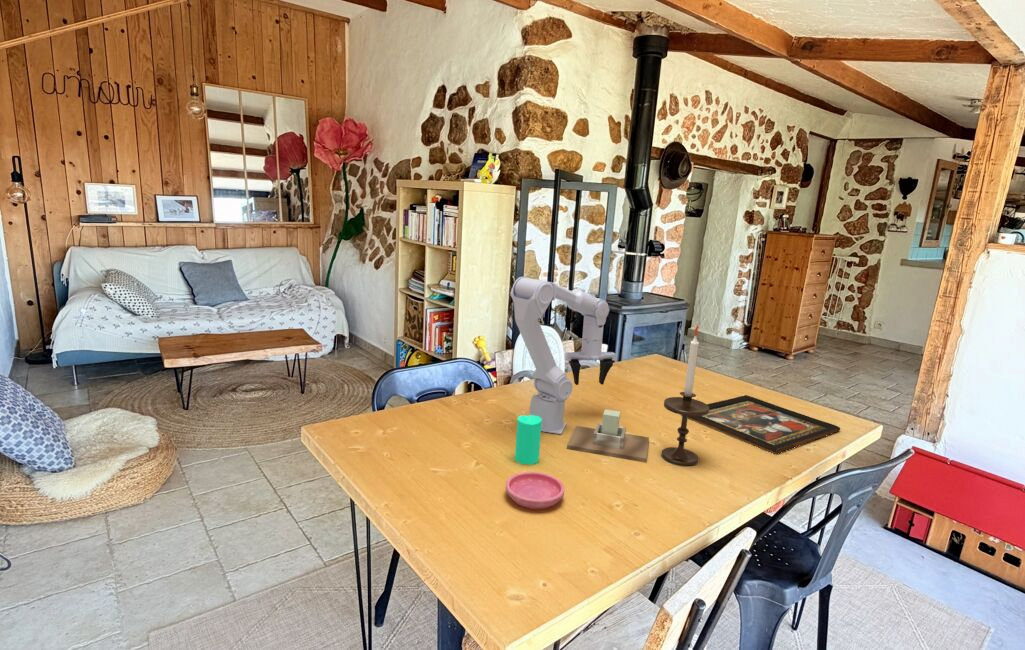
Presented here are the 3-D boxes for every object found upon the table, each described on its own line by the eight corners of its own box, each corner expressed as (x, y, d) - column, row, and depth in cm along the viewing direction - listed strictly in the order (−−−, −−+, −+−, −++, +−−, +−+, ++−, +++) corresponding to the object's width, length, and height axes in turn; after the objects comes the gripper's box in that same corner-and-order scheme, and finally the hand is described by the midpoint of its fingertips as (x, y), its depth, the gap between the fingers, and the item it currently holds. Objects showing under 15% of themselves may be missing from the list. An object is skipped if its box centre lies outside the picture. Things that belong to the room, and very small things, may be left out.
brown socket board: (566, 448, 143) (567, 434, 143) (575, 428, 157) (576, 415, 156) (646, 462, 138) (648, 447, 137) (648, 440, 152) (650, 427, 151)
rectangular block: (600, 443, 146) (603, 414, 144) (602, 437, 149) (605, 409, 148) (615, 445, 145) (618, 416, 143) (617, 440, 148) (620, 411, 147)
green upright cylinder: (542, 456, 138) (545, 411, 135) (535, 467, 132) (538, 419, 130) (519, 452, 140) (521, 406, 137) (511, 462, 134) (514, 415, 132)
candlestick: (701, 471, 135) (721, 330, 128) (655, 462, 139) (672, 324, 131) (702, 454, 145) (721, 322, 138) (659, 445, 149) (675, 317, 141)
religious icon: (791, 462, 144) (793, 451, 144) (673, 420, 170) (674, 411, 169) (844, 431, 169) (845, 422, 169) (734, 398, 195) (735, 390, 194)
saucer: (572, 510, 115) (573, 496, 114) (514, 517, 111) (515, 502, 110) (551, 481, 126) (552, 468, 125) (498, 486, 122) (498, 473, 122)
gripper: (571, 342, 156) (568, 388, 159) (621, 342, 158) (617, 387, 161) (565, 336, 162) (562, 380, 165) (612, 336, 165) (608, 379, 168)
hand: (588, 383), depth 164 cm, fingers open, 7 cm apart
